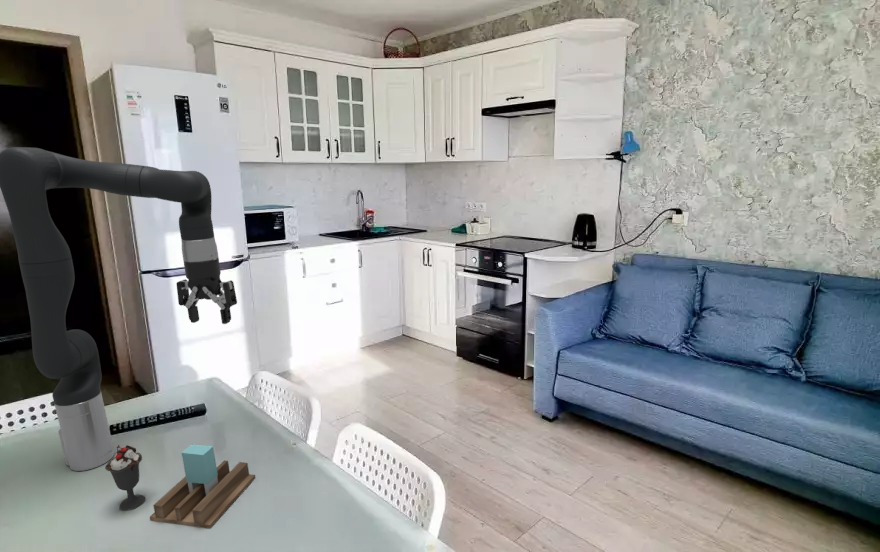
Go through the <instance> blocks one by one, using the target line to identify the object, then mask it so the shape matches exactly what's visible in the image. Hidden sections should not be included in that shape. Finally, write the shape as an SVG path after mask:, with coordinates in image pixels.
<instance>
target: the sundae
mask: <svg viewBox="0 0 880 552" xmlns="http://www.w3.org/2000/svg"><path fill="white" fill-rule="evenodd" d="M142 460H143V455H142V454H141V453H140V452H137V448H136V447H134V446H130V445H128V444H127V445H125V447H120V444H118V445H117V446H116V452H115V453H114V456H113V457H112V458H111V459H110V460H109V461H107V462H108V463H107V464H106V465H105V467H104V469H105V470H106V471H108V472H110V475H112V478H113V481H114V484H115V486H116V487H117V489H119V490H122V491H126V493H127V497H126V498H125V499H123V500H122V501H121V502H120V503H119V505H118V508H119V510H121V511H125V512H127V511H132V510H134V509H137V508H138V507H141V505H143V504H144V503H145V501H146V499H147V498H146V495H144V494H140V493H139V494H135V492H134V488H135V487H136V486H137V485H138V483H139V482H140V463H141V462H142Z"/></svg>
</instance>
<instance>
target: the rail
mask: <svg viewBox="0 0 880 552" xmlns="http://www.w3.org/2000/svg"><path fill="white" fill-rule="evenodd" d="M229 464H230V463H229V461H228V460H223V461H222V462H221V463H220V464H218V466H216V467H217V473H218V475H217V478H218V484H217V485H216V486H215V487H214V488H213V489H212V490H211V491H210V492H209V493H208V494H207V495H206V493H205V487H204V484H201V483H200V484H199V485H198V486H197V487H196V488H195V489H194V490H193V491H192V492H191V493H189V487H188V482H187V481H186V475H185V476H184V477H182V479H181V480H179V481H178V482H177V483H176V484H175V485H174V486H173V487H172V488H171V489H169V490H168V491H167V492H166V493H165V494H164V495H163V496H162V497H160V498H159V499H158V500H157V501H156V502H155V503H154V504H153V505H152V506H153V511H154V512H152V514H151V515H149V521H154V522H160V523H168V524H174V525H175V524H176V525H184V526H189V527H198V528H203V529H211V528H212V527H213V526H214V525H215V524H216V523H217V522H218V521H219V519H220V518H221V517H222V516H223V515H224V514H225V513H226V511H228V509H229V508H230V507H231V506H232V505H233V504H234V503H235V502H236V500H237V499H238V498H239V497H240V496H241V495H242V494H243V493H244V491H246V489H247V488H248V487H249V486H250V485H251V484H252V482H253V481H254V480H255V479H256V474H250V471H249V465H248V464H249V463H248V462H244V461H243V462H242V461H238V463H237V464H236V465H235V466H234V467H233V468H232V469H231V470H230V465H229Z"/></svg>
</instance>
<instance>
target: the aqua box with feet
mask: <svg viewBox="0 0 880 552" xmlns="http://www.w3.org/2000/svg"><path fill="white" fill-rule="evenodd" d="M215 455H216V454H215V450H214V446H213V445H204V444H190V445H189V446H188V447H187V448H185V449H184V450H183V451H182V452H181V457H182V463H183V468H184V474H185V476H186V481H187V482H188V487H189V493H191V492H192V491H193V490H194V489H195V488H196V487H197V486H198V485H199V484H200V483H201V484H204V487H205V493H206V495H207V494H208V493H209V492H210V491H211V490H212V489H213V488H214V487H215V486H216V485H217V484H218V478H217V475H218V473H217V467H218V466H217V462H216V456H215Z"/></svg>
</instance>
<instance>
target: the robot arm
mask: <svg viewBox="0 0 880 552" xmlns="http://www.w3.org/2000/svg"><path fill="white" fill-rule="evenodd" d="M64 188H65V189H66V188H70V189H71V188H81V189H91V190H96V191H101V192H104V193H105V192H106V193H109V194H114V195H118V196H119V195H120V196H127V197H137V198H146V199H148V198H149V199H158V200H164V201H169V202H175V203H181V213H180V215H179V217H178V227H179V233H180V234H179V235H180V239H181V240H180V241H181V253H182V255H181V256H182V262H183V267H184V273H185V279H182V280H179V281H177V282H176V291H177V300H178V305H179V306H181V307H182V306H183V307H185V308H186V309H187V315H188V319H189V321H190V322H191V323H194V324H195V323H197V322H199V321H200V314H199V307H198V305H197V304H198V302H199V300H207V301H208V300H209V301H212V302H213V303H215V304H216V305H217V306H218V307H219V308H220V310H219V311H220V319H221V323H222V325H227V324H228V323H230V322H231V320H232V313H231V307H233V306H235V305H237V304H238V299H237V294H236V289H235V283H234V281H233V280H228V281H222V279H221V267H220V258H219V251H218V246H217V241H216V239H215V233H214V232H215V231H214V227H213V220H212V188H211V185H210V181H209V179H208V178H207V177H206V176H205V175H204V174H203V173H202V172H199V171H197V170H185V171H184V170H170V169H159V168H158V167H153V166H148V165H141V164H130V163H122V162H107V161H94V160H93V161H92V160H88V159H81V158H76V157H72V156H67V155H64V154H61V153H57V152H53V151H49V150H47V149H46V150H45V149H43V148H40V147H39V148H38V147H30V146H29V147H26V146H25V147H21V146H16V147H15V146H13V147H8V148H5V149H4V150H2V151H1V152H0V191H1V194H2V198H3V199H4V202H5V206H6V207H7V211H8V215H9V218H10V223H11V228H12V233H13V238H14V242H15V247H16V250H17V257H18V259H17V260H18V263H19V268H20V273H21V278H22V282H23V285H24V289H25V297H26V301H27V307H28V308H27V309H28V314H29V319H30V320H29V321H30V333H31V347H32V355H33V356H32V357H33V361H34V363H35V366H36V368H37V369H38V371H39V373H41V374H42V375H43V376H44V377H46V378H48V379H53V380H59V379H60V380H59V382H58V384H57V385H56V386H55V388H54V389H53V390H52V391H53V392H52V401H53V403H54V407H55V412H56V416H57V421H58V426H59V429H58V432H57V434H58V436H59V440H60V444H61V448H62V453H63V456H64V460H65V461H64V462H65V465H66V466H68V467H69V468H70V470H71V471H75V472H83V471H87V470H92V469H95V468H97V467H100V466H102V465H104V464H106V463H107V462H109V461H110V460H112V459H113V458H114V456H115V450H114V445H113V440H112V436H111V430H110V426H109V422H108V416H107V412H106V408H105V403H104V400H103V395H102V390H101V383H102V381H103V380H102V379H103V376H102V368H101V360H100V355H99V349H98V347H97V343H96V341H95V339H94V338H93V337H92V335H90V333H88V332H87V331H85V330H82V329H69V330H67V324H66V322H67V321H66V315H67V310H68V305H69V303H70V300H71V296H72V293H73V290H74V286H75V279H76V276H75V269H74V268H75V267H74V263H73V262H74V261H73V258H72V253H71V250H70V246H69V245H68V243H67V241H66V239H65V238H64V236H63V235H62V233H61V232H60V230H59V228H58V227H57V225H55V222H54V221H53V218H52V217H51V213H50V210H49V206H48V199H47V191H48V190H50V189H64ZM190 291H191V292H190Z"/></svg>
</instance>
